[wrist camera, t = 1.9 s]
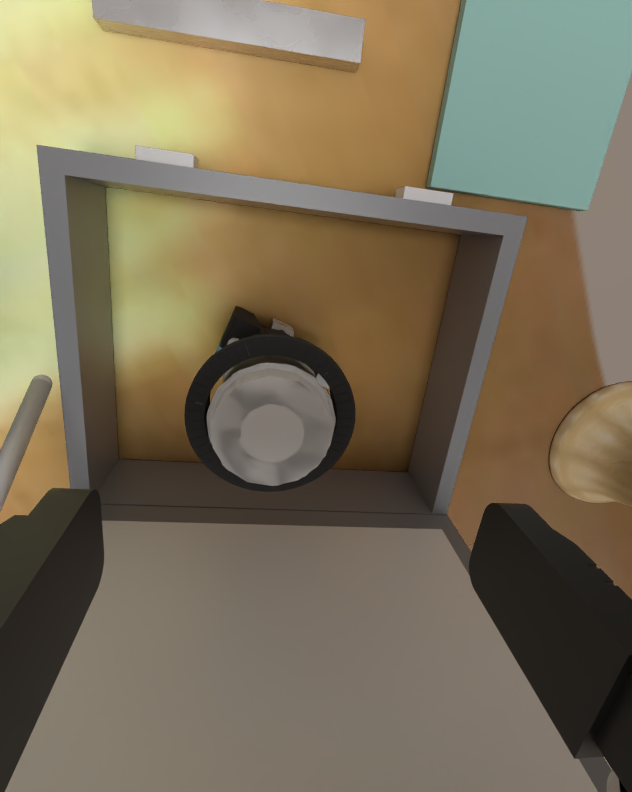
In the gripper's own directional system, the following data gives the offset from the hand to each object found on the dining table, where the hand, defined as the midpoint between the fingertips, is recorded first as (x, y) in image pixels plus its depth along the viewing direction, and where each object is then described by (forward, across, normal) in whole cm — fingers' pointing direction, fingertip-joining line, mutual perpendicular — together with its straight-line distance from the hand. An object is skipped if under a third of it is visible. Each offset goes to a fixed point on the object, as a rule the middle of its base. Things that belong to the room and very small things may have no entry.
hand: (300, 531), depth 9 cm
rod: (+14, +3, -13) cm, 20 cm away
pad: (+14, -10, -12) cm, 21 cm away
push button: (+14, 0, 0) cm, 14 cm away
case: (+14, 0, 0) cm, 14 cm away
